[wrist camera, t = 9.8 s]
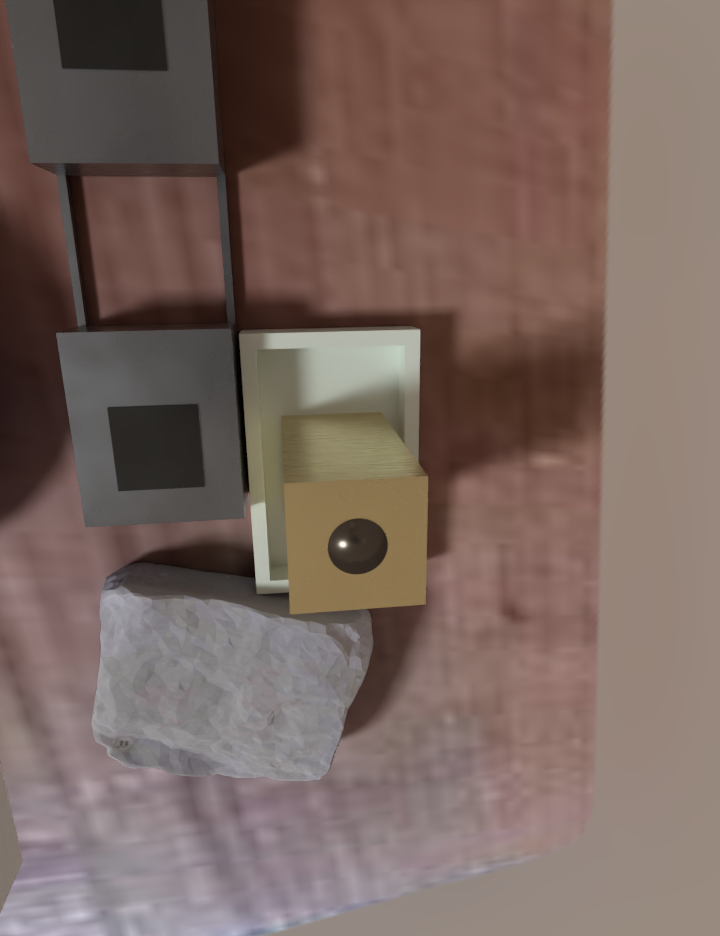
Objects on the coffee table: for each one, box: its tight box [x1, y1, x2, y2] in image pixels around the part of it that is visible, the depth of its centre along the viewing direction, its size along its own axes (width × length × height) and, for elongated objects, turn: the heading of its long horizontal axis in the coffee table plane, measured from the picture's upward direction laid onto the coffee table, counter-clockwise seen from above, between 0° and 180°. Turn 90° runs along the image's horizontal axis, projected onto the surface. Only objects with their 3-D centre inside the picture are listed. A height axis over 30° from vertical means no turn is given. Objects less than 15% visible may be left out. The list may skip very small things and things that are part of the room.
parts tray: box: [239, 326, 420, 594], centre depth 27 cm, size 11×7×2 cm, turn 1°
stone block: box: [92, 563, 373, 781], centre depth 29 cm, size 12×5×10 cm
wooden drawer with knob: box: [282, 412, 428, 614], centre depth 23 cm, size 4×4×9 cm
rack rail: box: [5, 0, 248, 527], centre depth 23 cm, size 20×6×3 cm, turn 1°
